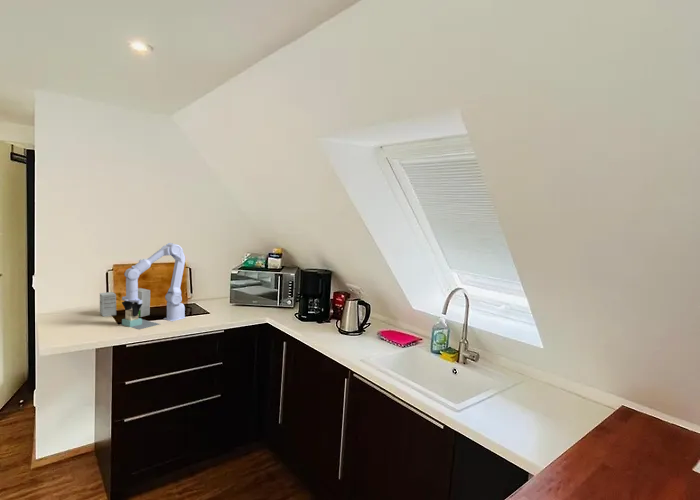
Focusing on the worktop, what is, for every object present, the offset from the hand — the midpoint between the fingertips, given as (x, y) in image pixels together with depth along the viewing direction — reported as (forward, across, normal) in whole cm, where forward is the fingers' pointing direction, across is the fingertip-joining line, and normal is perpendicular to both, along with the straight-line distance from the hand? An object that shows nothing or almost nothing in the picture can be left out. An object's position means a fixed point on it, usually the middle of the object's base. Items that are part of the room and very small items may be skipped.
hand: (132, 315), depth 230 cm
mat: (+6, +3, +3) cm, 7 cm away
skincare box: (+6, -14, +15) cm, 21 cm away
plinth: (+5, 0, 0) cm, 5 cm away
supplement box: (+6, -30, +5) cm, 31 cm away
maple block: (+2, 0, 0) cm, 2 cm away
